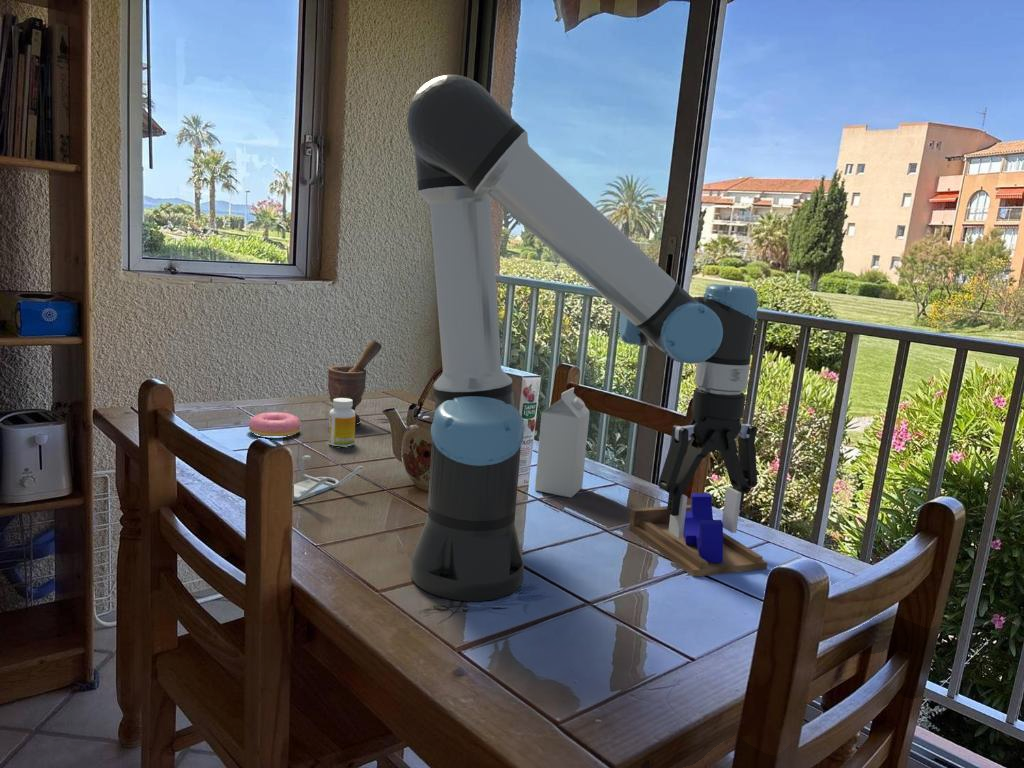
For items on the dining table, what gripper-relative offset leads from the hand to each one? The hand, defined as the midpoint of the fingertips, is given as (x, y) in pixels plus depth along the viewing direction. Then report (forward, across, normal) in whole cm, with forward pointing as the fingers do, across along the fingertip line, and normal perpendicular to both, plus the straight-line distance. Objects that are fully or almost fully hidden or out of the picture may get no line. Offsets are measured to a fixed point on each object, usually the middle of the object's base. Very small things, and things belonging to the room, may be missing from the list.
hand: (702, 532), depth 114 cm
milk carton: (+3, -10, +30) cm, 32 cm away
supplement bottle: (+3, -45, +64) cm, 79 cm away
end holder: (+3, 0, +1) cm, 3 cm away
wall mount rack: (+3, -54, +34) cm, 64 cm away
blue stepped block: (+2, -1, -1) cm, 2 cm away
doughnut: (+3, -58, +74) cm, 94 cm away
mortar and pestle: (+3, -40, +82) cm, 91 cm away
